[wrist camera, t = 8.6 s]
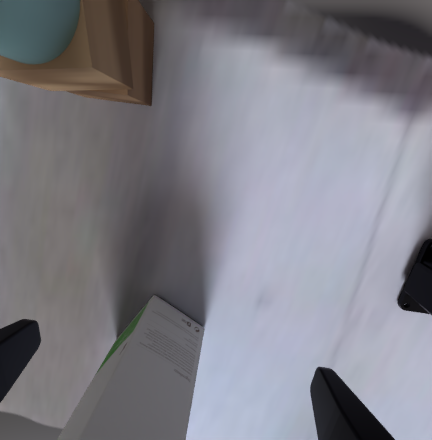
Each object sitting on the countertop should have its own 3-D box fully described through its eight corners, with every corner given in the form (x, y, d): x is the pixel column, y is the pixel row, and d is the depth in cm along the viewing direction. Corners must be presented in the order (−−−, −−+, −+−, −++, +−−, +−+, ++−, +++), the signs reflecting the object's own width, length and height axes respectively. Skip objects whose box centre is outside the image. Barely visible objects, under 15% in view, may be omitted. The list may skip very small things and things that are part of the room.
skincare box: (155, 291, 22) (-5, 583, 7) (210, 329, 23) (163, 658, 8) (113, 341, 25) (-70, 636, 10) (164, 374, 26) (64, 689, 11)
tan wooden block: (122, -23, 12) (67, -103, 8) (133, 89, 13) (92, 67, 9) (29, -18, 12) (-66, -91, 8) (51, 90, 14) (-20, 70, 10)
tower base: (154, 24, 16) (128, -15, 12) (151, 106, 17) (127, 95, 13) (82, 15, 16) (33, -25, 12) (86, 97, 17) (44, 84, 14)
